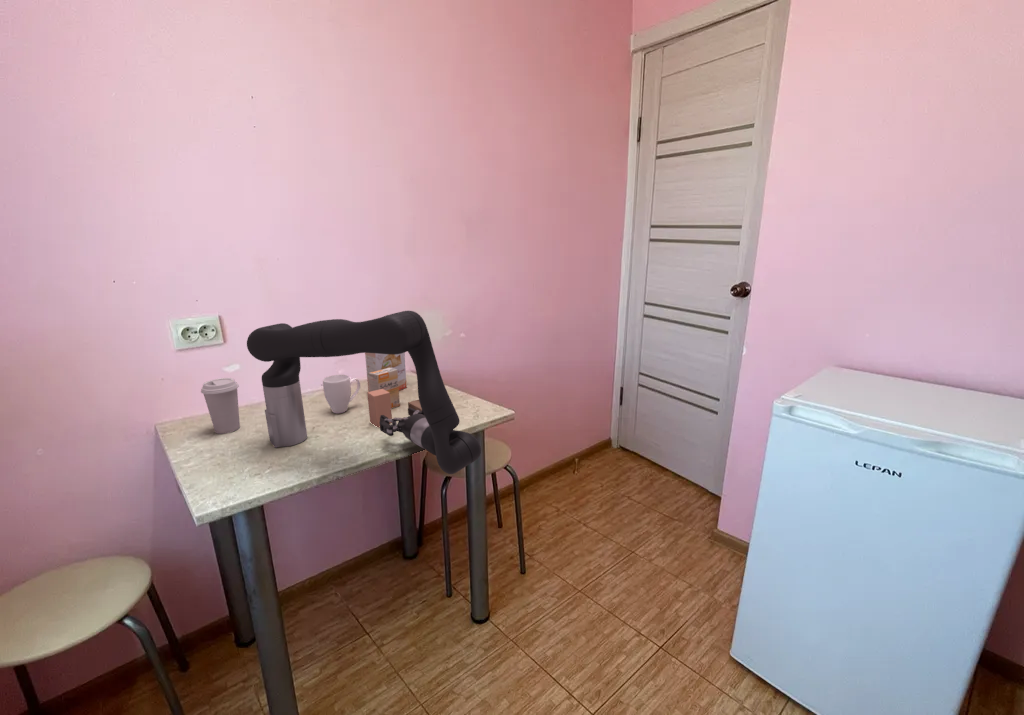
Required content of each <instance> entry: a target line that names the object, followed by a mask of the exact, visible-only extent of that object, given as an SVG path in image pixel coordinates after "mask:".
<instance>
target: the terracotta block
mask: <svg viewBox="0 0 1024 715" xmlns="http://www.w3.org/2000/svg"><path fill="white" fill-rule="evenodd" d="M366 395H367V403H368V404H367V405H368V413H369V416H368V417H369V423H370V422H371V423H372V424H374V425H375V426H377V427H378V428H380V427H379V426H380V423H379V422H380V416H381V415H384V416H386V417H387V418H388V419H393V415H392V414H393V413H392V408H391V401H390V393H389V392H388V391H386V390H384V389H380V390H375V391H371V392H368V391H367V393H366ZM371 423H370V424H371ZM389 423H392V422H389ZM372 424H371V425H372ZM374 425H373V426H374ZM375 426H374V427H375ZM377 427H376V428H377Z"/></svg>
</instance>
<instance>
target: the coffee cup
mask: <svg viewBox="0 0 1024 715" xmlns="http://www.w3.org/2000/svg"><path fill="white" fill-rule="evenodd" d="M239 387H240V386H239V384H238V382H236V380H235V379H234V378H231V377H224V378H223V377H221V378H215V379H211V380H208V381H206V382H204V383H203V384H202V387H201V388H200V393H201V394H203V396H204V401H205V403H206V407H207V409H208V413H209V416H210V419H211V423H212V426H213V430H214V433H215V434H218V435H219V434H220V435H221V434H229V433H232V432H235V431H237V430H239V429H240V427H241V424H240V423H241V422H240V411H239V410H240V409H239V396H238V394H239V393H238V388H239Z"/></svg>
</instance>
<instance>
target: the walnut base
mask: <svg viewBox="0 0 1024 715" xmlns="http://www.w3.org/2000/svg"><path fill="white" fill-rule="evenodd" d="M407 406H408V408H412V409H415V410H419V411H422V408H421V405H420V402H419V399H416V400H411V401H408V402H407ZM408 408H407V409H408Z"/></svg>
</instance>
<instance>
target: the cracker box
mask: <svg viewBox="0 0 1024 715" xmlns="http://www.w3.org/2000/svg"><path fill="white" fill-rule="evenodd" d="M405 353H406V352H405ZM405 353H402V354H395V355H392V354H378V353H364V355H365V356H364V357H365V366H366V369H365V370H366V378H367V389H368V390H367V392H371V389H370V378H369V373H370V372H374V371H378V370H382V369H386V368H394V369H397V372H398V386H399V391H401V389H402V390H404V388H405V389H406V388H408V387H407V385H408V384H407V373H406V369H407V368H406V356H405Z"/></svg>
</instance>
